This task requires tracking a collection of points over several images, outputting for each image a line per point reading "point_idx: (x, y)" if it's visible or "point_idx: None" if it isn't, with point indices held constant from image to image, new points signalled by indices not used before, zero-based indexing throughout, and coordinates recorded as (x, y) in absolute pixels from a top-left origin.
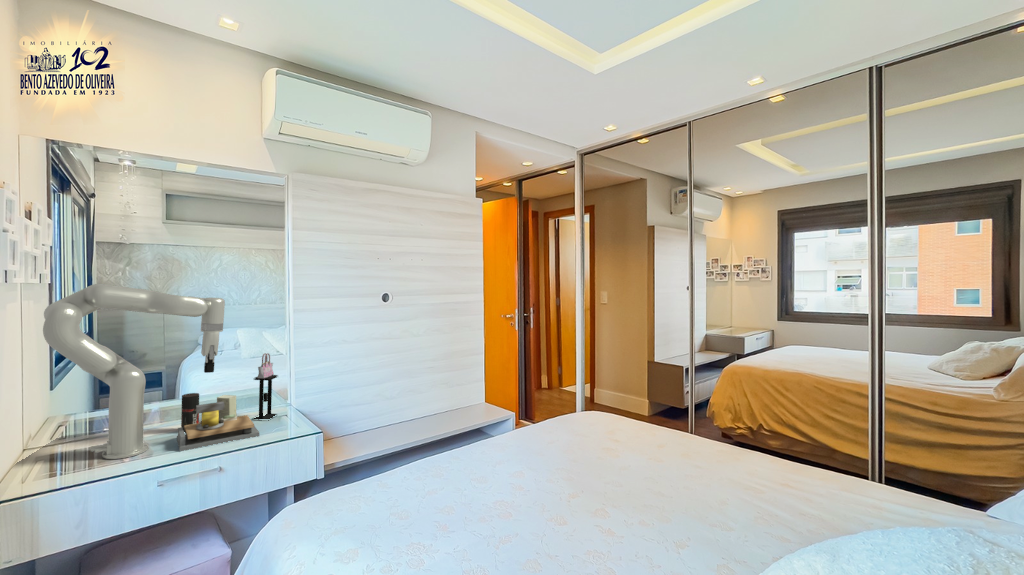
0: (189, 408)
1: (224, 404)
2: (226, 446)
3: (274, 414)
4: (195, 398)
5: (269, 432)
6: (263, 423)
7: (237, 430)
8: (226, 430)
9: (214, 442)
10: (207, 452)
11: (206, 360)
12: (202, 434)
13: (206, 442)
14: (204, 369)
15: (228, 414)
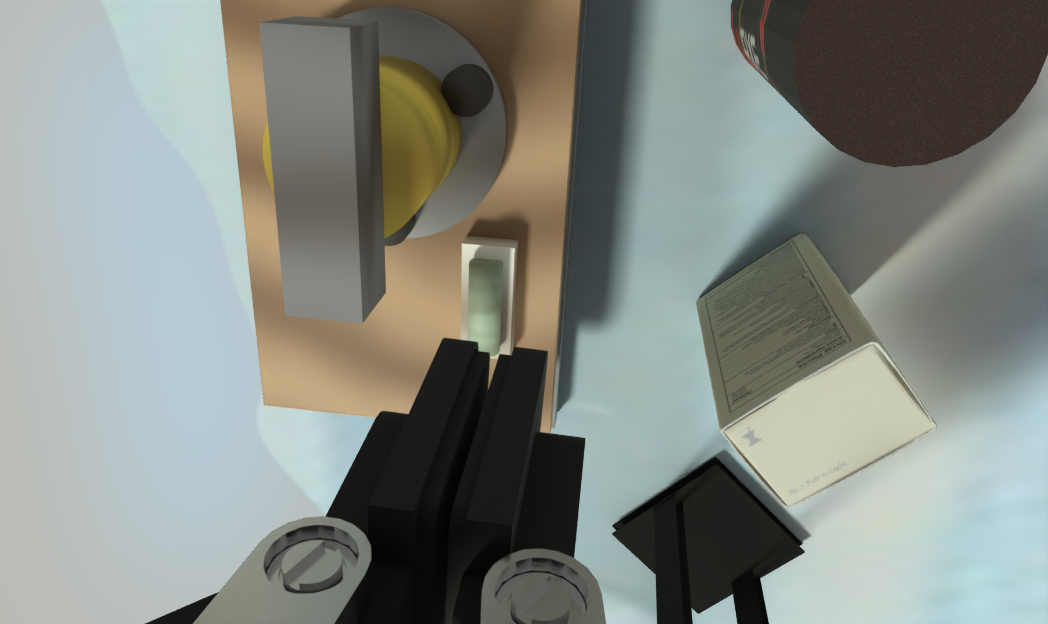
0: (772, 3)
1: (762, 359)
2: (207, 167)
3: (699, 596)
4: (791, 91)
5: (348, 451)
6: None
7: None
8: (248, 214)
9: None
10: (144, 32)
11: (223, 600)
12: (229, 30)
13: None
14: (448, 376)
15: (711, 337)
